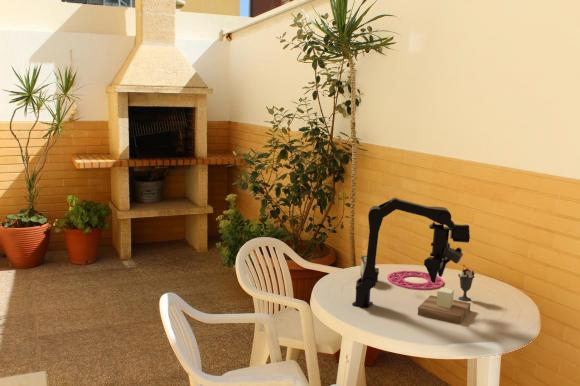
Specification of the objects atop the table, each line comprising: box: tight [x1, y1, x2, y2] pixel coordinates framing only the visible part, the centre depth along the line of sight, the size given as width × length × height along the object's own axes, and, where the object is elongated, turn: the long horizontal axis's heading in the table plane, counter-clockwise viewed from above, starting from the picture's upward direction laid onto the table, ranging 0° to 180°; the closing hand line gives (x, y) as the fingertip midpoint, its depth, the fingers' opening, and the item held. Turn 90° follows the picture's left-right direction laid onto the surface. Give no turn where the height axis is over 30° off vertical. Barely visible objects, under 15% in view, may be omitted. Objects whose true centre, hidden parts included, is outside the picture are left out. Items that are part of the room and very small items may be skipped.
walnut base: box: [417, 294, 472, 325], centre depth 220 cm, size 16×16×3 cm
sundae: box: [457, 264, 476, 302], centre depth 234 cm, size 7×7×15 cm
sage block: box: [436, 286, 455, 308], centre depth 219 cm, size 5×5×6 cm
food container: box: [359, 254, 377, 278], centre depth 256 cm, size 12×6×10 cm, turn 179°
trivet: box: [386, 270, 445, 291], centre depth 258 cm, size 25×25×1 cm
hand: (436, 279), depth 220 cm, fingers open, 9 cm apart
